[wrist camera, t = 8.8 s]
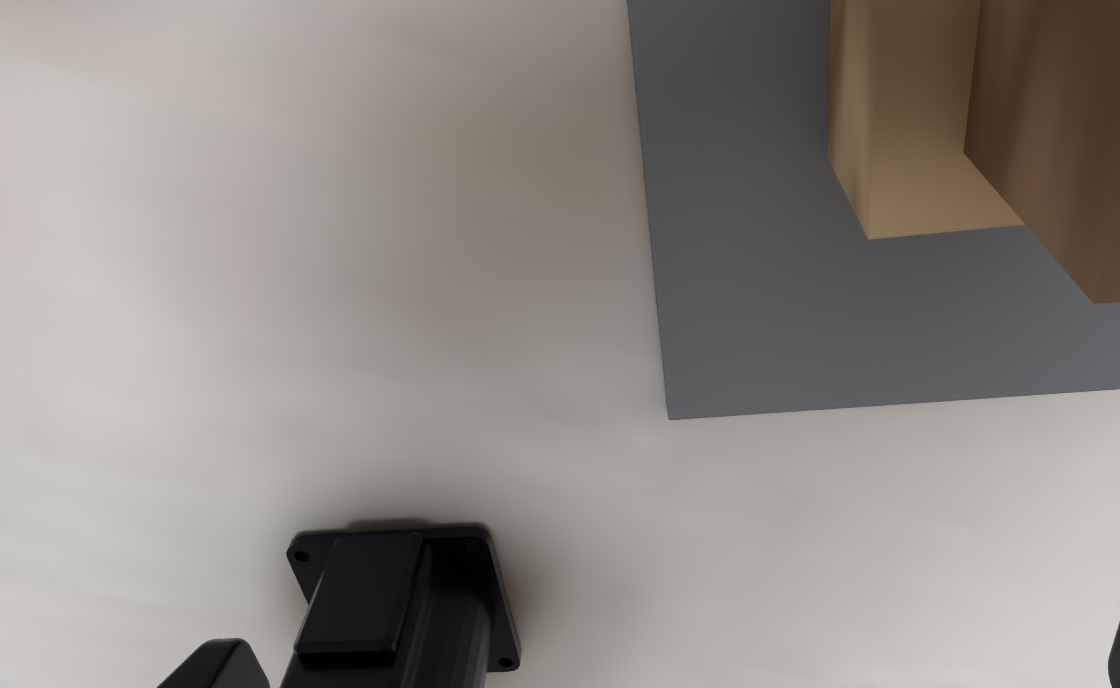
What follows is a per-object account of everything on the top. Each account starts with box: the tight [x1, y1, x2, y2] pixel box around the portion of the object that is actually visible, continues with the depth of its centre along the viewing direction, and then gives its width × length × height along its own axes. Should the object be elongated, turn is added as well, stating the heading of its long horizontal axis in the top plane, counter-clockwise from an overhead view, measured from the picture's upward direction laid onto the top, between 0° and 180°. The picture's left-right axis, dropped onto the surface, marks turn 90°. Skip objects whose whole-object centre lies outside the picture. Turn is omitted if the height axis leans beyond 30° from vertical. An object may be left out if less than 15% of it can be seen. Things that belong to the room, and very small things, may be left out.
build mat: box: [627, 0, 1120, 420], centre depth 18 cm, size 16×12×1 cm
